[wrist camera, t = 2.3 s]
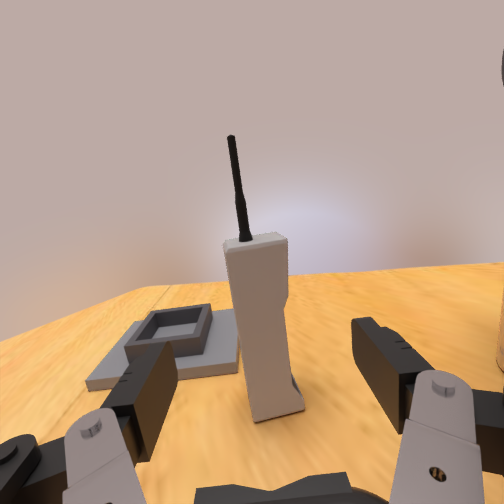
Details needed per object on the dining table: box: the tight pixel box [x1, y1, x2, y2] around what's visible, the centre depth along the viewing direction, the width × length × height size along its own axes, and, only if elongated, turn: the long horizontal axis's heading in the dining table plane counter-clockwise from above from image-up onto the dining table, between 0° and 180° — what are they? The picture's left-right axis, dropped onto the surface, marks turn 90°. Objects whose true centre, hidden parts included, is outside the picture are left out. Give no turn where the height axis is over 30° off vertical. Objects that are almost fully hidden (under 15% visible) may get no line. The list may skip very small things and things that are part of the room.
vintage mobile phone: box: [223, 135, 305, 422], centre depth 23 cm, size 4×5×25 cm
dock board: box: [85, 303, 239, 391], centre depth 38 cm, size 18×14×4 cm
